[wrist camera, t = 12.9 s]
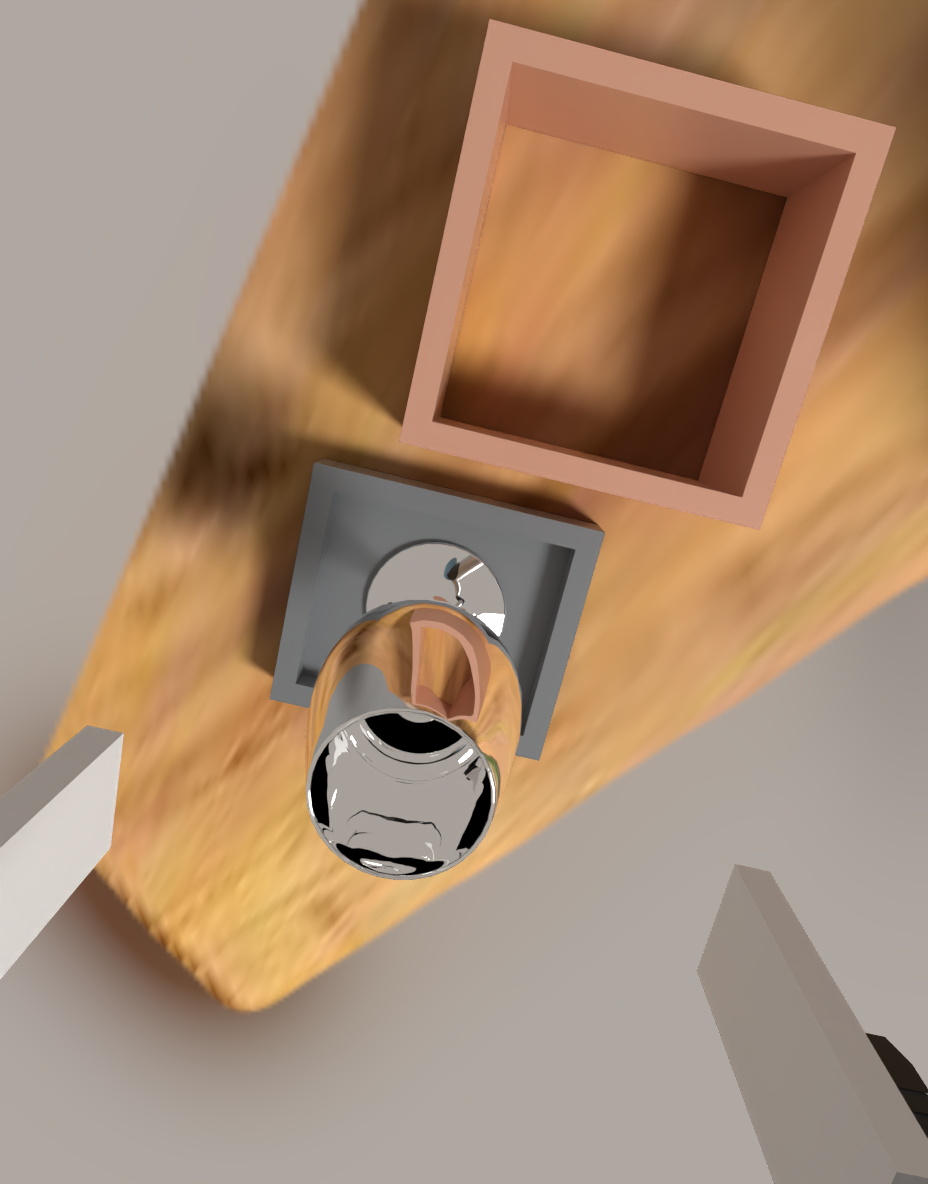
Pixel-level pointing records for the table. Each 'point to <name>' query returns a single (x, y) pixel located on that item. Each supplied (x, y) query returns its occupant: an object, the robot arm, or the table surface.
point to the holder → (691, 143)
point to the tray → (435, 514)
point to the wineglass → (415, 718)
